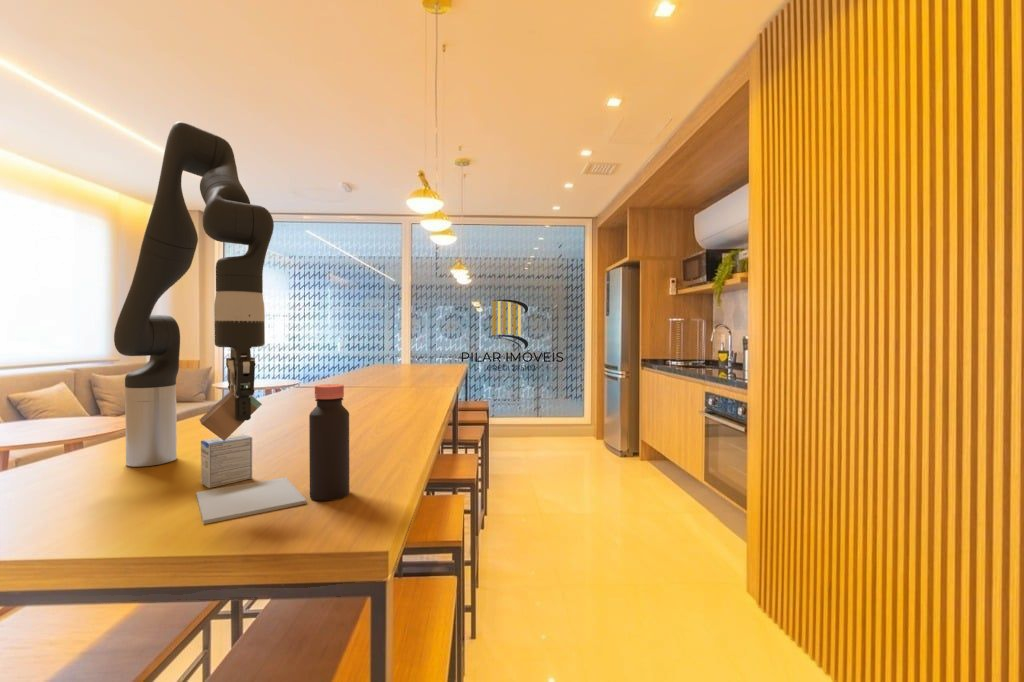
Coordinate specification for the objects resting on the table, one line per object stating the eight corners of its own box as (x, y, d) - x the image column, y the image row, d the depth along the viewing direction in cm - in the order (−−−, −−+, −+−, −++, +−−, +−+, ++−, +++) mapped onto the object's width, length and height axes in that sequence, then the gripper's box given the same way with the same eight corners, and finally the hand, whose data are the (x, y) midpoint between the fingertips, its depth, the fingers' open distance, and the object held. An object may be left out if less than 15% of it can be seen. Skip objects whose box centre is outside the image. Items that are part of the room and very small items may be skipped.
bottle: (300, 499, 85) (300, 386, 85) (327, 487, 91) (327, 382, 91) (331, 503, 83) (331, 388, 82) (357, 491, 89) (357, 384, 89)
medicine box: (243, 474, 99) (243, 433, 99) (253, 479, 96) (252, 436, 96) (200, 484, 93) (200, 439, 93) (209, 489, 90) (208, 443, 90)
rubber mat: (196, 495, 87) (196, 492, 87) (286, 480, 96) (286, 477, 96) (203, 524, 74) (203, 520, 74) (306, 503, 83) (306, 500, 83)
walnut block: (199, 419, 81) (237, 384, 84) (221, 436, 83) (257, 400, 86) (201, 424, 77) (241, 386, 81) (224, 441, 79) (262, 404, 83)
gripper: (272, 318, 79) (273, 422, 79) (257, 320, 90) (258, 410, 91) (219, 318, 74) (220, 427, 75) (210, 319, 86) (211, 414, 86)
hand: (240, 417), depth 83 cm, fingers closed on walnut block, 4 cm apart
